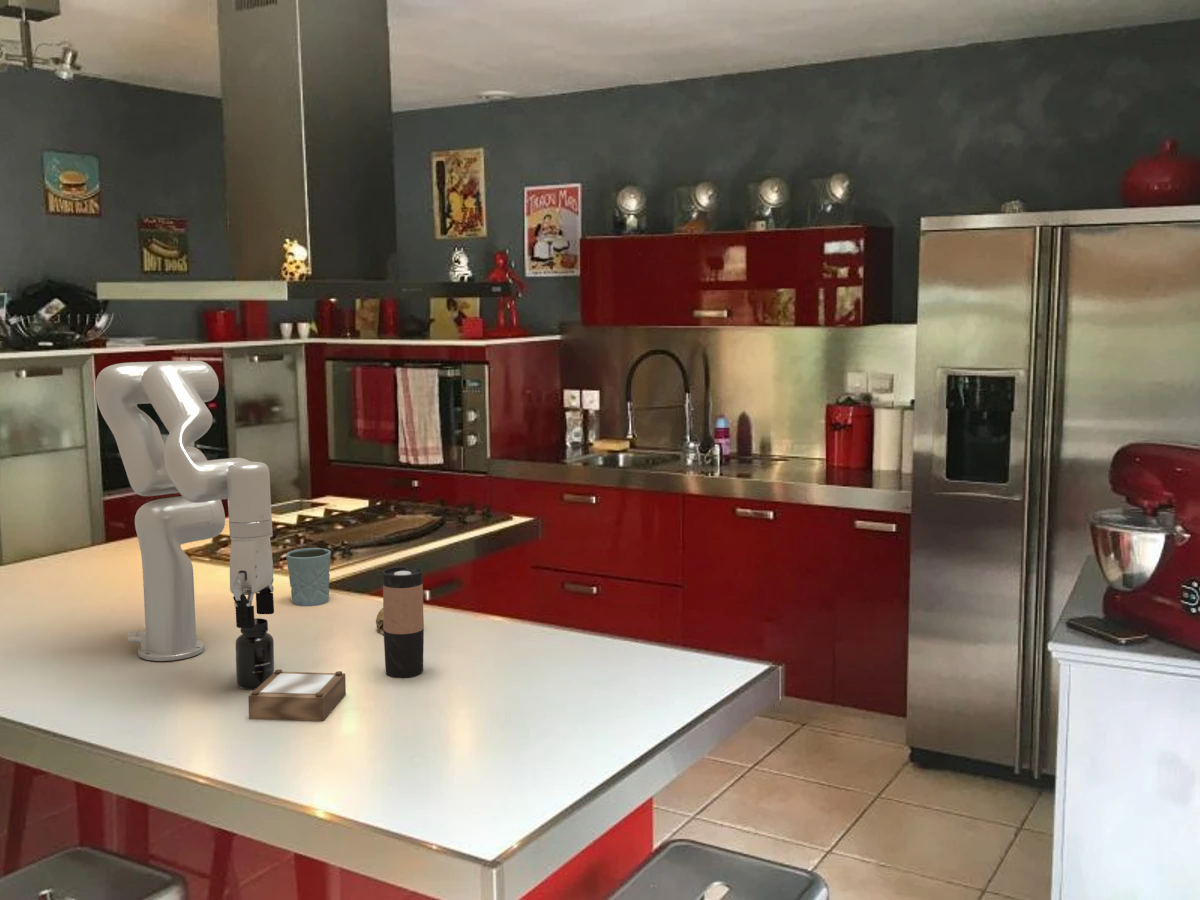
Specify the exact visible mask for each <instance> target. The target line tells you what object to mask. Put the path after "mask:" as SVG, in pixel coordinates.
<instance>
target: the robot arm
mask: <svg viewBox="0 0 1200 900" xmlns="http://www.w3.org/2000/svg"><path fill="white" fill-rule="evenodd" d="M218 378H219V377H218V375H217V373H216V372H215V370H214V369H213V367H212V366H211V365H210V364H208V363H207V362H204V361H202V360H163V361H136V362H134V361H131V362H121V363H114V364H111V365H109V366H106V367H104V368H103V369H102V370H101V371H100V372H99V373H98V375H97V377H96V380H95V388H94V389H95V398H96V403H97V406H98V409H99V411H100V414H101V416H102V418H103V419H104V421H105V423H106V425H107V426H108V428H109V429H110V431H111V433H112V435H113V438H114V439H115V442H116V445H117V448H118V451H119V455H120V459H121V461H122V464H123V467H124V470H125V472H126V476H127V480H128V482H129V485H130V487H131V489H132V491H134V492H135V494H136V495H139V496H141V497H153V496H154V497H155V496H156V497H157V496H163V495H170V494H172V495H173V494H180V495H181V496H179V495H178V496H172V497H163V498H158V499H154V500H151V501H147V502H146V503H144V504H143V505H141V506H140V507H139V508H138V509H137V511H136V514H135V516H134V527H135V531H136V536H137V540H138V543H139V544H138V545H139V550H140V555H141V566H142V567H141V568H142V582H143V583H142V585H143V604H144V605H143V606H144V625H145V629H144V630H143V631H139V630H129V631H128V633H127V638H128V643H130V644H133V643H134V644H136V643H139V644H140V647H139V648H138V651H137V653H138V656H139V657H140V658H141V659H143V660H147V661H150V662H151V661H154V662H169V661H178V660H184V659H188V658H191V657H194V656H198V655H199V654H201V653H203V652H204V651H205V643H204V641H203V640H201V639H199V638H197V629H196V628H197V627H196V626H197V625H196V603H195V601H196V600H195V577H194V576H195V575H194V566H193V563H192V561H191V558H190V557H189V556H188V555H187V553H186V552H185V551H184V550H183V549H182V547H181V545H184V544H188V543H193V542H198V541H200V542H201V541H204V540H208V539H209V540H210V539H212V538H216V537H218V536H219V535H221V533H222V532H223V531H224V529H225V526H226V514H225V509H224V505H223V501H222V500H227V507H228V508H227V511H228V512H227V513H228V521H229V522H228V525H229V527H228V528H229V539H230V540H231V541H230V542H231V543H230V550H229V552H230V553H229V591H230V593H232V595H233V597H232V599H233V600H234V602H233V603H234V607H235V622H236V628H238V629H241V628H253V627H254V626H255V620H254V618H255V607H256V613H257V615H273V614H274V613H275V604H274V603H275V602H274V593H273V592H274V585H273V583H274V562H273V553H272V552H273V551H272V544H271V538H273V536H274V535H273V534H274V533H273V519H272V497H271V496H272V495H271V479H270V478H271V477H270V468H269V465H267V464H266V463H264V462H262V461H250V460H248V459H246V458H242V457H229V458H218V459H212V460H211V459H210V460H208V458H207V457H206V456H205V454H204V453H203V452H202V450H200V449H198V448H197V447H195V446H191V444H192V443H194V442H196V441H197V440H199V439H200V438H202V437H203V436H204V435H205V434H206V433H208V431H209V430H210V428H211V427H212V424H213V415H212V413H211V411H210V409H209V408H208V407H207V405H206V403H207V402H211V401H213V400H214V399H215V397H216V396H217V395H218V392H219V387H220V386H219V385H220V384H219V379H218ZM142 404H143V405H144V404H150V405H152V408H153V409H154V411H155V412H156V414H157V416H158V418H159V419H160V421H161V422H162V423H163V425H164V427H165V429H166V430H167V431H168V433H169V434H168V435H167V438H166V441H165V442H164V440H163V438H162V434H161V430H160V428H159V426H158V424H157V423H156V422H155V421H154V420H153V418H151V416H150V415H148V414H147V413H146V412H145V411H144V410H141V408H139V407H138V405H142ZM254 595H255V604H256V605H255V606H254V605H252V604H253V599H254ZM246 596H247V597H246Z"/></svg>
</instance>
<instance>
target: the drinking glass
mask: <svg viewBox="0 0 1200 900" xmlns="http://www.w3.org/2000/svg"><path fill="white" fill-rule="evenodd" d="M331 555H332V554H331V550H330V549H328V548H324V547H323V548H320V547H309V548H299V549H293V550H291V551H287V553H286V554H285V556H286V558H285V559H286V564H287V570H288V574H289V576H288V577H289V586H290V588H291V589H290V594H291V603H292V604H293V605H294V604H295V606H299V607H317V606H321V605H324V604H326V603H329V601H330V579H331V577H330V569H331Z"/></svg>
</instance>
